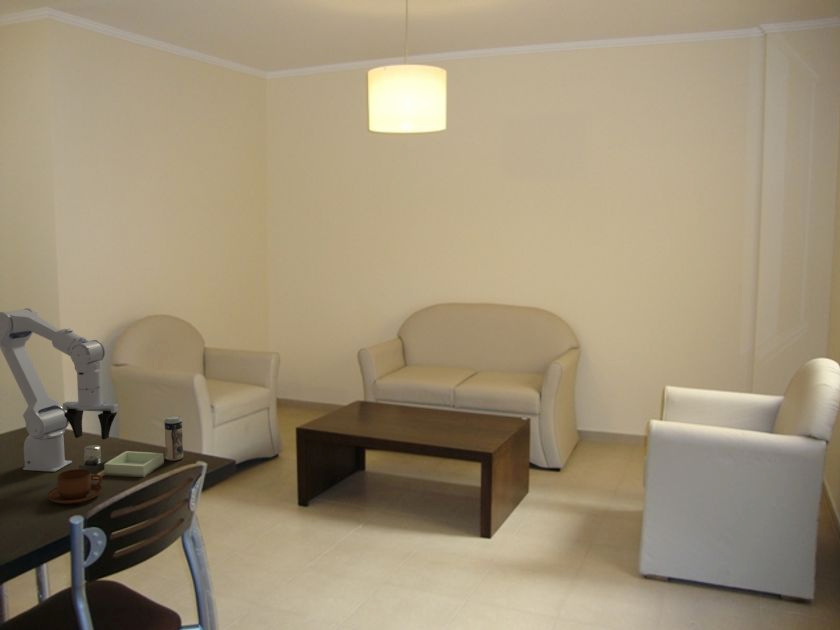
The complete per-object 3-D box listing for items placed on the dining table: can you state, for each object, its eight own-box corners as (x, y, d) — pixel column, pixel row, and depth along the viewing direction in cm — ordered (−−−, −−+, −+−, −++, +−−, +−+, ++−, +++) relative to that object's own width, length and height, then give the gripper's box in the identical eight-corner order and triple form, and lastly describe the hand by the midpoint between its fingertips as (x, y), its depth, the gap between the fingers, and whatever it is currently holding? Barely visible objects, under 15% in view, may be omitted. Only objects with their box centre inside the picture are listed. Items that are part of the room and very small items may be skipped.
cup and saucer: (87, 486, 192) (86, 462, 191) (111, 497, 184) (110, 473, 183) (39, 499, 182) (37, 475, 182) (62, 512, 175) (61, 486, 174)
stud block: (73, 477, 197) (73, 466, 197) (88, 468, 204) (88, 458, 204) (98, 478, 196) (97, 468, 196) (113, 469, 203) (112, 459, 203)
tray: (104, 474, 199) (104, 464, 199) (126, 461, 210) (126, 451, 210) (143, 477, 198) (143, 466, 197) (163, 463, 209) (163, 453, 208)
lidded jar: (177, 462, 210) (176, 420, 208) (162, 460, 211) (160, 419, 209) (186, 456, 215) (185, 415, 213) (171, 455, 216) (169, 414, 214)
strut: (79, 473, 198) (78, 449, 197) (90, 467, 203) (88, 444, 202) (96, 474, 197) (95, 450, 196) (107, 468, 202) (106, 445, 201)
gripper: (54, 389, 194) (57, 440, 196) (107, 392, 192) (109, 443, 194) (70, 383, 201) (73, 432, 203) (121, 385, 199) (123, 435, 201)
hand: (91, 437), depth 199 cm, fingers open, 7 cm apart
